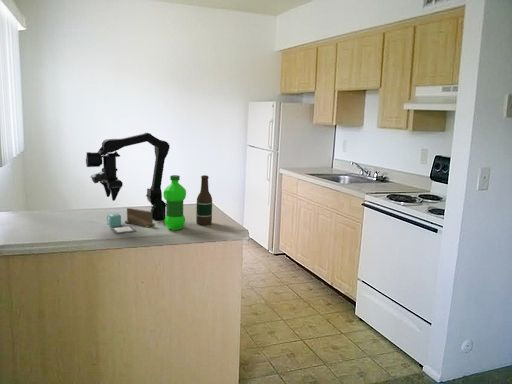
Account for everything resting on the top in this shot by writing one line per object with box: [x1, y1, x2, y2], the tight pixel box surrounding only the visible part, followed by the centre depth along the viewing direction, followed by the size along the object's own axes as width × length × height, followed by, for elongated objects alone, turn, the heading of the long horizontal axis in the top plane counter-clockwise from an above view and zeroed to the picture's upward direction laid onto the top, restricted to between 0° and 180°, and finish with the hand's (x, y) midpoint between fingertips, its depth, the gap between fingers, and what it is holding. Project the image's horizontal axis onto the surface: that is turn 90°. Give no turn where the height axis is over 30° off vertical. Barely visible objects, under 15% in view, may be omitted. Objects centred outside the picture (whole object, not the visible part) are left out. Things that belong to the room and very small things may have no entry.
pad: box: [110, 225, 137, 235], centre depth 203 cm, size 9×9×1 cm
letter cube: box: [106, 212, 122, 228], centre depth 210 cm, size 5×5×5 cm
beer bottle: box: [195, 174, 213, 227], centre depth 217 cm, size 8×8×24 cm
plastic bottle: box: [163, 174, 187, 231], centre depth 207 cm, size 10×10×25 cm
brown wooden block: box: [124, 207, 156, 229], centre depth 213 cm, size 5×14×7 cm, turn 64°
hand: (110, 198), depth 212 cm, fingers open, 9 cm apart
